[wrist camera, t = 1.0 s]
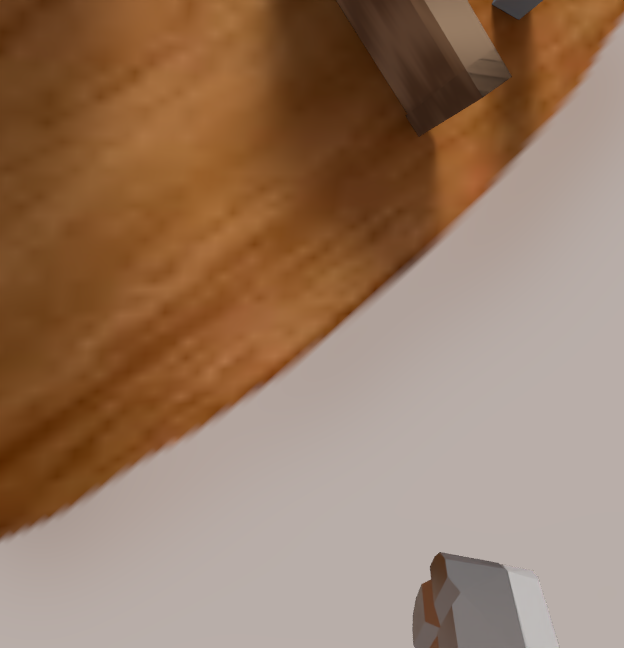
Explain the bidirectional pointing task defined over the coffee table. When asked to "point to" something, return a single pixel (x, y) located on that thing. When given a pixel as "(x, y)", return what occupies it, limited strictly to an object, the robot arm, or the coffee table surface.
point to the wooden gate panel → (428, 54)
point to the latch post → (516, 6)
